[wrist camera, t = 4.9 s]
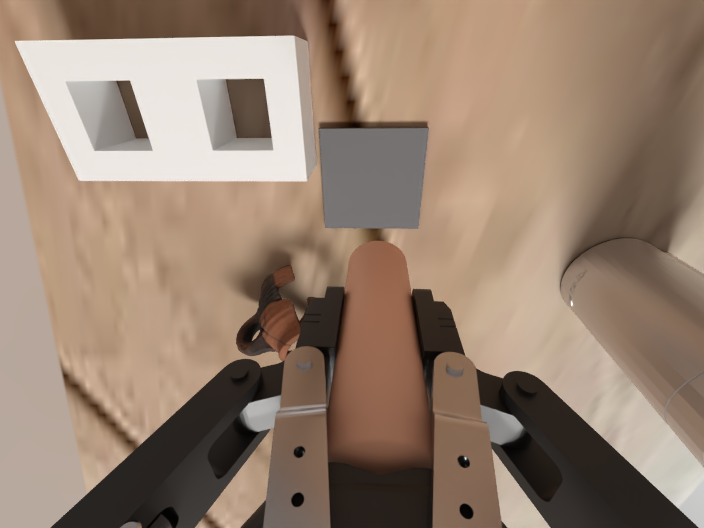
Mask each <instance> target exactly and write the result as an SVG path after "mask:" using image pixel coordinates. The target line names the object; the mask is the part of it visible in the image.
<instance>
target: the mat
mask: <svg viewBox="0 0 704 528" xmlns="http://www.w3.org/2000/svg"><path fill="white" fill-rule="evenodd" d="M428 130H429V128H428V127H423V128H319V134H320V151H321V167H322V183H323V199H324V216H325V228H408V229H418V225H419V216H420V206H421V197H422V187H423V177H424V168H425V158H426V149H427V139H428Z"/></svg>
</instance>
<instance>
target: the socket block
mask: <svg viewBox="0 0 704 528" xmlns="http://www.w3.org/2000/svg"><path fill="white" fill-rule="evenodd" d="M15 43H16V46H17V48H18V50H19V52H20V54H21V56H22V58H23V61H24V63H25V65H26V67H27V69H28V71H29V74H30V76H31V78H32V80H33V82H34V84H35V87H36V89H37V91H38V93H39V95H40V97H41V100H42V102H43V104H44V106H45V108H46V110H47V113H48V115H49V117H50V119H51V121H52V123H53V126H54V128H55V130H56V132H57V134H58V136H59V139H60V141H61V143H62V145H63V147H64V149H65V151H66V154H67V156H68V158H69V160H70V162H71V164H72V167H73V169H74V171H75V173H76V175H77V177H78V180H79V181H307V180H308V179H309V177H310V175H311V173H312V171H313V170H314V168H315V166H316V151H315V137H314V122H313V108H312V94H311V79H310V65H309V50H308V41H306V40H303V39H301V38H299V37H297V36H248V37H197V38H146V39H96V40H45V41H15ZM226 79H264V84H265V91H266V98H267V106H268V113H269V120H270V128H271V135H272V138H237V136H236V130H235V125H234V120H233V115H232V109H231V104H230V99H229V93H228V88H227V83H226ZM126 80H130V82H131V85H132V88H133V91H134V94H135V97H136V100H137V103H138V106H139V109H140V112H141V115H142V119H143V122H144V125H145V128H146V131H147V134H148V137H149V138H136V137H135V134H134V131H133V128H132V125H131V122H130V119H129V116H128V113H127V111H126V108H125V105H124V102H123V99H122V96H121V93H120V90H119V87H118V84H117V82H116V81H126Z"/></svg>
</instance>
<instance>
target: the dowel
mask: <svg viewBox="0 0 704 528" xmlns="http://www.w3.org/2000/svg"><path fill="white" fill-rule="evenodd" d="M327 423H328V462H334V463H346V464H348V465H351V466H354V467H357V468H360V469H363V470H365V471H368V472H371V473H374V474H377V475H383V474H387V473H392V472H396V471H400V470H405V469H409V468H414V467H415V468H431V427H430V425H431V413H430V407H429V401H428V394H427V388H426V382H425V376H424V369H423V364H422V358H421V352H420V345H419V339H418V333H417V326H416V320H415V314H414V308H413V301H412V294H411V288H410V282H409V275H408V269H407V263H406V259H405V256H404V254H403V253H402V251H401V250H400V249H399V248H397V247H396V246H395V245H393V244H391V243H388V242H384V241H371V242H367V243H365V244H363V245H361V246H359V247H358V248H357V249H356V250H355V251H354V252H353V253H352V255H351V257H350V260H349V265H348V272H347V279H346V286H345V296H344V304H343V311H342V318H341V325H340V332H339V339H338V346H337V353H336V360H335V364H334V370H333V377H332V384H331V391H330V398H329V405H328V412H327Z"/></svg>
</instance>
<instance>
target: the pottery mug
mask: <svg viewBox="0 0 704 528" xmlns="http://www.w3.org/2000/svg"><path fill="white" fill-rule="evenodd" d="M294 280H295V276H294V274H293V272H292V267H291V266H287V267H283V268H281V269H279V270H277V271H275V272H274V273H273V274H271V275H270V276H269V277H268V278H267V279H265V281H264V283H263V284H262V287H261V297H260V301H259V308H258V311H257V313H256V314H255V315H254V316H252V317H251V318H250V319H249V320H247V321H246V322H245V323H244V324H243V326H242V327H241V328H240V330H239V332H238V334H237V338H236V344H237V346H238V350H239V351H240V352H242V353H244V354H246V355H248V356H256V355H260V354H262V353H265V352H269V351H272V352H275V351H276V352H278V353H279V358H280V359H281V361H285V359H286V357H287V355H288V354H289V353H290V352H291V351H288V349H289V348H290V346H291V345H292V344H293V343H295V342H296V341H297V340H298V338H299V334H300V331H301V327H302V324H303V320H304V317H305V314H306V311H305V313H304V316H303V317H302V319H301V320H300V321H299V320H298V317H297V315H296V312H295V308H294V304H293V303H292V302H291V301H290V300H288V299H283V300H282V298H281V296H280V294H279V292H278V291H279V288H280V287H281V286H283V285H285V284H287V283H289V282H292V281H294ZM314 298H315V297H309V298H308V299H307V303H308V305H309V304H310V302H311V301H312V300H313V299H314ZM306 310H307V308H306ZM258 330H260V333H259V335H258V336H257V338H256V339H254V340H253V341H252V339H253V336H254V335H255V333H256V332H257V331H258Z"/></svg>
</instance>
